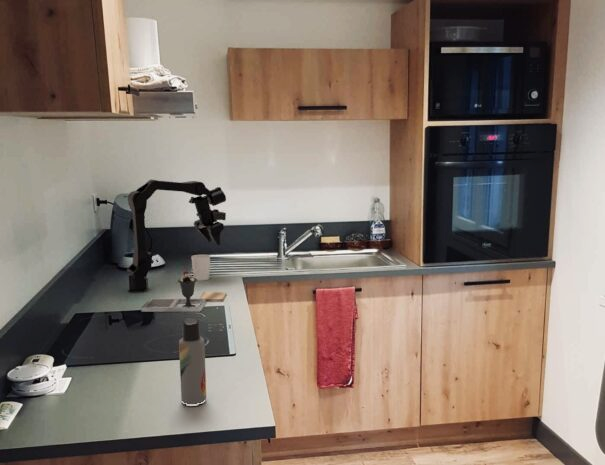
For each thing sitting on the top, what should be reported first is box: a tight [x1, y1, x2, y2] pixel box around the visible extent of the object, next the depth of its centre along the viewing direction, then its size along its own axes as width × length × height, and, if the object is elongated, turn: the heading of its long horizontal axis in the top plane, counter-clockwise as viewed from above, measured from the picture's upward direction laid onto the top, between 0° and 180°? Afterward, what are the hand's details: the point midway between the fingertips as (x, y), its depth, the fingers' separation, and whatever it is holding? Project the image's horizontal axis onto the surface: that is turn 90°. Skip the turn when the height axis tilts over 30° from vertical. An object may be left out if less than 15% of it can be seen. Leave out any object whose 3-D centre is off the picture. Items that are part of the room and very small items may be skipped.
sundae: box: [177, 265, 197, 307], centre depth 197 cm, size 7×7×15 cm
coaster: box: [198, 291, 227, 303], centre depth 209 cm, size 9×9×1 cm
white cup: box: [191, 254, 211, 282], centre depth 237 cm, size 8×8×10 cm
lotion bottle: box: [178, 316, 207, 404], centre depth 126 cm, size 6×6×20 cm
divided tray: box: [140, 298, 207, 313], centre depth 198 cm, size 21×11×2 cm, turn 89°
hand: (214, 243), depth 236 cm, fingers open, 9 cm apart
